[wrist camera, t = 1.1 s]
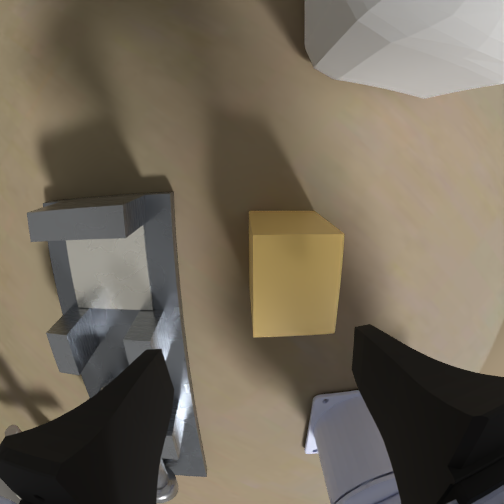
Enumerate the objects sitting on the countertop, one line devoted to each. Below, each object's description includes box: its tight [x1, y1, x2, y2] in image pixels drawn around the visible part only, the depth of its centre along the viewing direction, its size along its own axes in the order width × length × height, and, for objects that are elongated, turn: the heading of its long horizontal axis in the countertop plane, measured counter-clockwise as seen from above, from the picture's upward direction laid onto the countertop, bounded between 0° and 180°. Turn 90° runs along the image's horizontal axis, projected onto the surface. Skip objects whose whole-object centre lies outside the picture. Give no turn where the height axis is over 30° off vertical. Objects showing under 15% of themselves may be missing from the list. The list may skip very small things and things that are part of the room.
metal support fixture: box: [27, 192, 207, 477], centre depth 20 cm, size 9×27×5 cm, turn 0°
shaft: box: [101, 377, 178, 503], centre depth 21 cm, size 4×14×4 cm, turn 0°
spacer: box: [249, 211, 344, 337], centre depth 17 cm, size 4×5×6 cm
